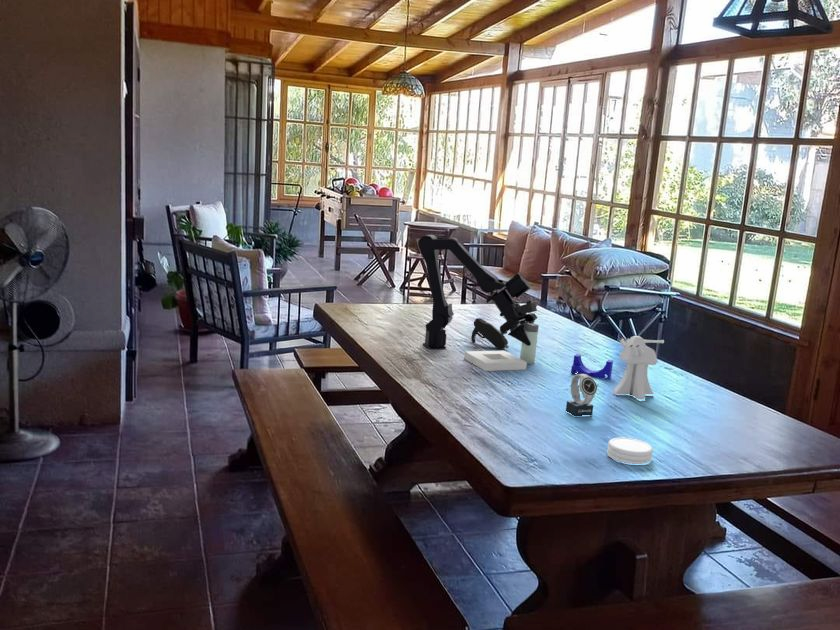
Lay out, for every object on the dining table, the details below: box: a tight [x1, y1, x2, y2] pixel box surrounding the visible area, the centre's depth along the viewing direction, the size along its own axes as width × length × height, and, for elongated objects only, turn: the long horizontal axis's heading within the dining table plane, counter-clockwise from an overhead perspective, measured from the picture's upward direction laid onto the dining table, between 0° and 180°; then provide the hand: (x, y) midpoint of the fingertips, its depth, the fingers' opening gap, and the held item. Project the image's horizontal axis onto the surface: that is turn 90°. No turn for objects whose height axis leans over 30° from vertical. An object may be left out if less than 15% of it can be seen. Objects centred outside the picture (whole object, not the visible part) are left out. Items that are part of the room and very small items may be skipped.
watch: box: [565, 374, 598, 416], centre depth 206 cm, size 6×8×11 cm
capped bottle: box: [520, 323, 540, 365], centre depth 259 cm, size 5×5×13 cm
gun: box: [470, 317, 510, 351], centre depth 280 cm, size 3×16×10 cm, turn 53°
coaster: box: [606, 437, 654, 464], centre depth 177 cm, size 10×10×4 cm
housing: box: [463, 350, 528, 372], centre depth 254 cm, size 15×15×2 cm
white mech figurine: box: [612, 335, 665, 399], centre depth 229 cm, size 12×13×18 cm
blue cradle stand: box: [570, 353, 614, 380], centre depth 249 cm, size 12×4×6 cm, turn 64°
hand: (533, 344), depth 258 cm, fingers closed on capped bottle, 5 cm apart
